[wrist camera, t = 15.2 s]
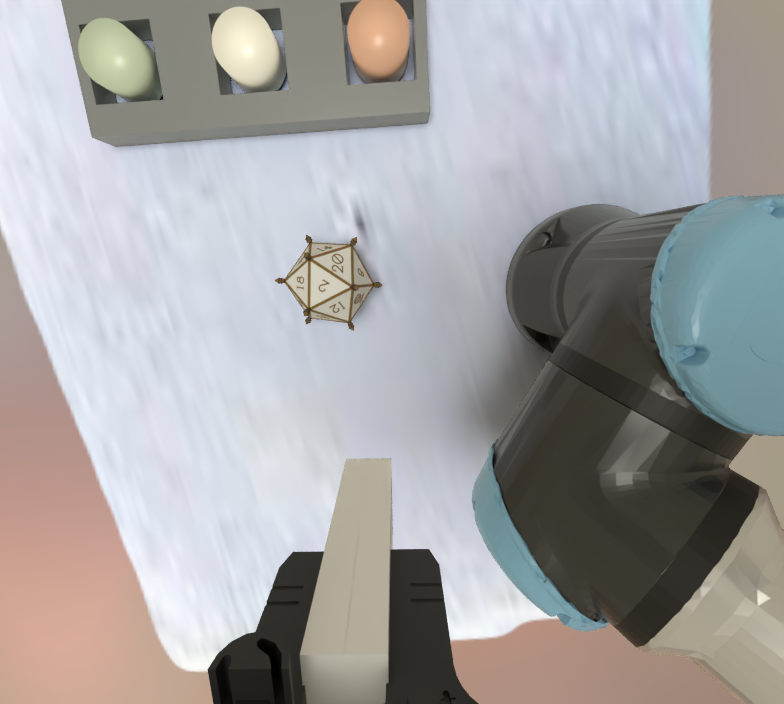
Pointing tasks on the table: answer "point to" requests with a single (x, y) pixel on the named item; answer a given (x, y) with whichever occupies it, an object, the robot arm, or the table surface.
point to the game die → (329, 282)
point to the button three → (379, 40)
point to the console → (212, 83)
